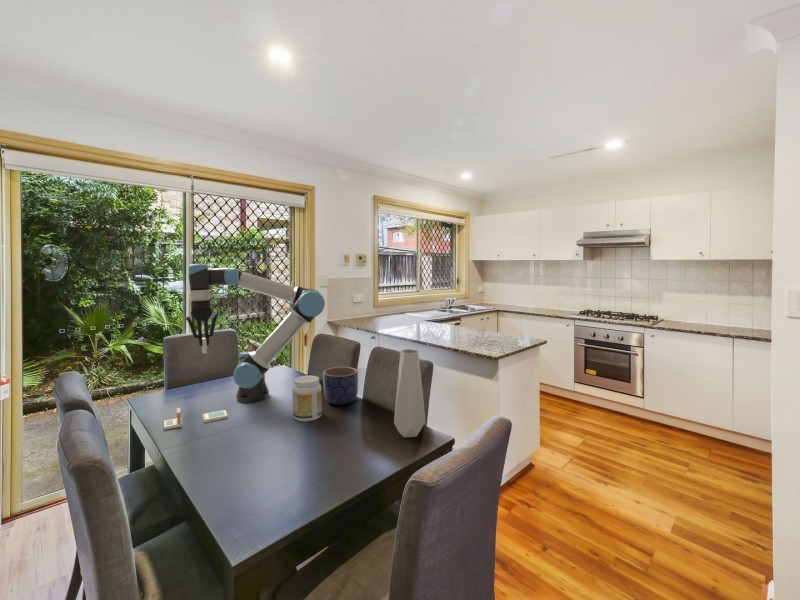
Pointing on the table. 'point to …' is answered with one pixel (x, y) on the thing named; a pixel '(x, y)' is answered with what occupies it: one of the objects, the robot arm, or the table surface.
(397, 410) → the vase
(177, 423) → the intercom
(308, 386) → the supplement tub
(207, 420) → the cream tablet with screen
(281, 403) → the table surface
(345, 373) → the planter
